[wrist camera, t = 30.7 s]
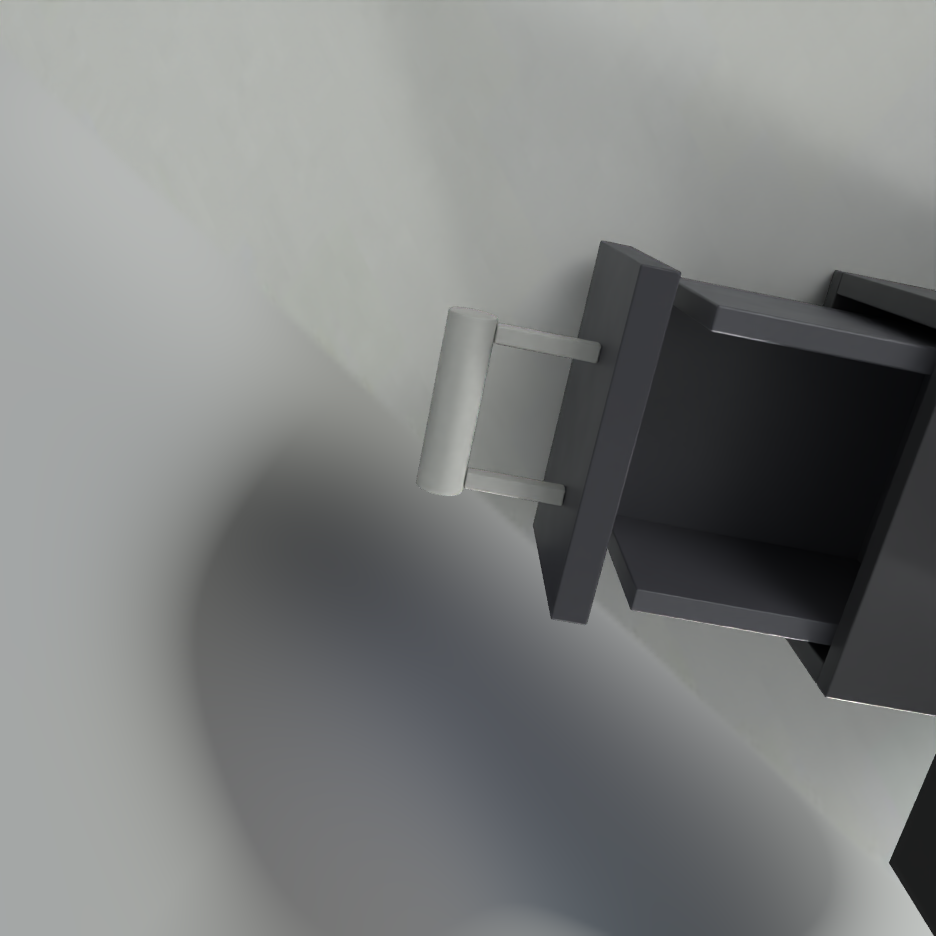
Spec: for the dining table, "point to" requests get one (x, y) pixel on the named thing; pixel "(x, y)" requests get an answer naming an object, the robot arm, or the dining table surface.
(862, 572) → the grey drawer box
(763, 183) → the dining table surface
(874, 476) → the pulled-out drawer
